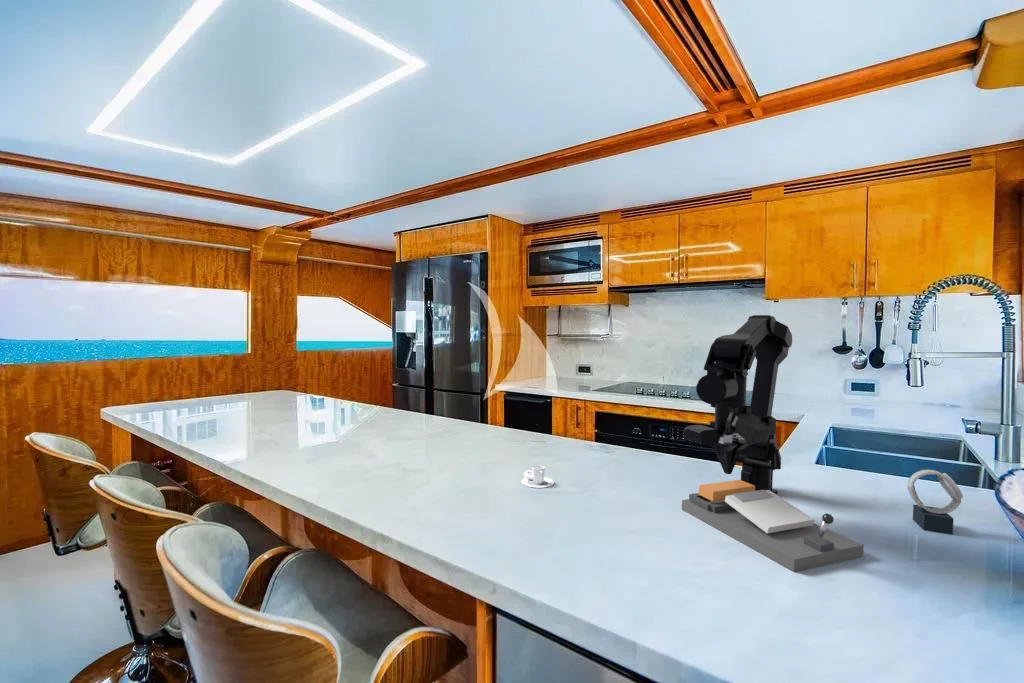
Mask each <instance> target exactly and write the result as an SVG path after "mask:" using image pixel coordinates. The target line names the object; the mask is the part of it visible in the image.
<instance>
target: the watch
mask: <svg viewBox="0 0 1024 683" xmlns="http://www.w3.org/2000/svg"><path fill="white" fill-rule="evenodd" d="M929 475H936V476H937V480H938V483H939V484H940V486H941V487H942V488H943V490H944V491H945V493H946V494H947V495H949V496H950V497H949V498H950V499H951V501H950V502H949V503H948V504H946V505H945V506H943V507H935V506H928V505H924V502H923V501H922V500H921V499H920V498H919V497H920V496H918V495H919V494H918V493H917V490H916V486H915V483H916V482H917V480H918V479H920V478H922V477H925V476H929ZM907 490H908V493H909V495H910V497H911V498H912V500H913V501H914V503H915V504H913V506H912V507H913V508H912V520H913V522H915V523H916V524H917V526H919V527H920V528H921V529H922V530H923V531H926V532H933V533H939V534H947V535H953V532H954V519H955V518H954V517H952V516H951V515H950V514H949V513H951V512H952V513H953V512H954V511H955V510H957V509H958V508H959V506H961V504H962V499H963V498H964V494H963V492H962V491H961V489H960V488H959V486H958V484H957V483H956V482H955V481H954V479H952V477H951V476H950V475H948V474H947V473H946V472H943V473H942V472H940V471H938V470H937V469H936V470H935V469H930V468H929V469H922V470H918V471H915V472H914V473H913V474H912V475H911V476H910V477H909V478H908V481H907Z"/></svg>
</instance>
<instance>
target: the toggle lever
mask: <svg viewBox="0 0 1024 683" xmlns="http://www.w3.org/2000/svg"><path fill="white" fill-rule="evenodd" d="M821 519H822V522H821V525H819V526H820V528H819V530H818V533H817V536H818V537H819V538H822V537H823V536H824V534H825V532H826V530H827V529H828V527H829V525H831V524H833V523H834V521H835V520H834V519H835V518H834V516H833V515H832V514H830V513H824V514H822V517H821Z"/></svg>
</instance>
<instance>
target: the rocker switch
mask: <svg viewBox="0 0 1024 683" xmlns="http://www.w3.org/2000/svg"><path fill="white" fill-rule="evenodd" d="M725 502H726V503H728V504H729V505H730V506H732V507H733V508H734V509H736V510H737V511H738V512H740V513H741V514H742V515H744V516H745V517H746V518H747V519H749V520H750V521H751V522H753V523H754V524H755V525H757V526H758V527H759V528H761V529H762V530H763V531H765V532H766V533H773V532H778V531H784V530H789V529H795V528H800V527H806V526H812V525H813V523H814V524H815V518H813V517H811V515H808V514H807V513H805V512H803V511H802V510H801V509H800V508H798V507H796V506H794V505H793V504H791V503H790V502H788V501H787V500H785V499H784V498H782V497H780V496H779V495H778V494H777V493H773V492H771V491H770V490H758V491H750V492H743V493H736V494H732V495H728V496H726V497H725Z"/></svg>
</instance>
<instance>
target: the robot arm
mask: <svg viewBox="0 0 1024 683" xmlns="http://www.w3.org/2000/svg"><path fill="white" fill-rule="evenodd" d="M792 343H793V334H792V332H791V331H790V328H789V326H787V325H786V324H784V323H783V322H780V321H778V320H777V319H776V317H775V316H774V315H773V316H772V315H770V314H764V315H763V314H753V315H750V316H749V317H748V319H747V321H746V322H745V323H744V324H743V325H742V326H741V327H739V328H738V329H737V330H736V331H735V332H734V333H731V334H725V335H720V336H718V337H717V338H715V339H714V341H713V343H712V344H711V345H710V348H709V351H708V353H707V357H706V360H705V363H704V366H703V370H704V371H706V374H705V375H702V376H701V377H700V379H698V381H697V383H696V387H695V390H696V394H697V396H698V398H699V399H700V400H701V401H702V402H703V403H705V404H707V405H710V407H711V408H713V409H714V420H711V421H709V426H710V427H709V426H706V425H702V424H694V425H687V426H686V427H685V428H684V430H683V439H684V440H686V441H688V442H692V443H695V444H698V445H701V446H711V447H712V449H713V451H714V453H715V454H716V457H717V459H718V461H719V464H720V466H721V468H722V471H723V473H725V474H726V475H732V473H733V471H734V468H735V465H736V464H741V470H740V480H742V481H744V482H747V483H749V484H752V485H754V486H755V491H758V490H770V491H771V492H773V493H775V494H778V493H779V490H777V489H774V488H773V480H774V478H773V477H774V471H776V470H781V469H782V456H781V453H780V450H779V447H778V444H777V437H776V429H777V422H776V421H777V419H776V418H775V417H773V416H772V413H773V406H774V398H775V391H776V385H777V378H778V371H779V370H778V369H779V366H780V365H781V363H782V362H783V361H784V360H785V359H786V358H787V357H788V355H789V349H790V348H791V347H792ZM754 360H756V366H755V372H754V381H753V385H752V386H753V387H752V392H751V399H750V404H747V378H748V376H749V373H748V372H749V370H750V371H751V368H752V366H753V363H754Z"/></svg>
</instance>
